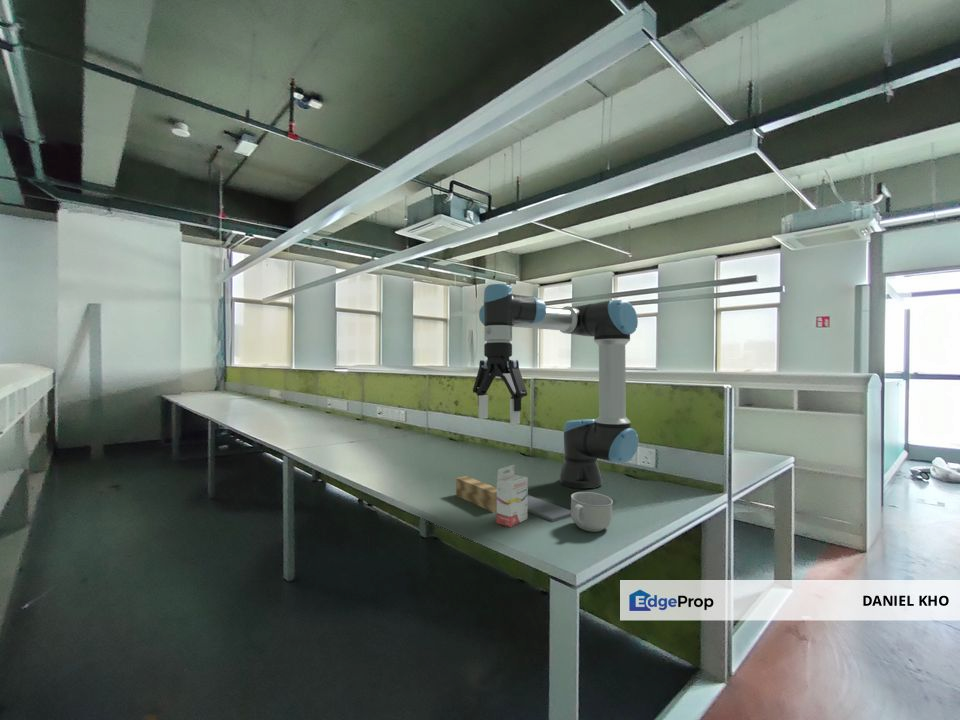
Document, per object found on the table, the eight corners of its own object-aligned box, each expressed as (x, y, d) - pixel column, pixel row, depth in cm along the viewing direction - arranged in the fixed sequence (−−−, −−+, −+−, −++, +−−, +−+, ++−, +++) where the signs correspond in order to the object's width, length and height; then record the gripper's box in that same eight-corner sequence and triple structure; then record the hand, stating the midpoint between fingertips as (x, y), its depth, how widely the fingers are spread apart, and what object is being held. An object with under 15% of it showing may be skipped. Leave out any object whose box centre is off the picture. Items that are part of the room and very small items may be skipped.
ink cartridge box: (511, 528, 111) (510, 472, 111) (496, 523, 114) (495, 469, 114) (528, 518, 117) (528, 466, 118) (514, 514, 121) (513, 463, 121)
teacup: (588, 517, 119) (588, 488, 119) (621, 529, 110) (621, 498, 110) (554, 528, 110) (554, 498, 110) (587, 542, 102) (587, 509, 102)
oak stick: (456, 496, 139) (456, 478, 139) (466, 494, 141) (466, 476, 141) (493, 513, 123) (493, 492, 123) (503, 510, 125) (503, 490, 125)
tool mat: (522, 495, 138) (522, 493, 138) (574, 514, 121) (574, 511, 121) (501, 500, 133) (501, 498, 133) (552, 521, 115) (552, 518, 115)
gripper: (460, 343, 121) (460, 417, 121) (518, 339, 101) (518, 427, 100) (481, 344, 125) (481, 415, 125) (541, 340, 105) (541, 425, 105)
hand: (498, 421), depth 113 cm, fingers open, 13 cm apart
